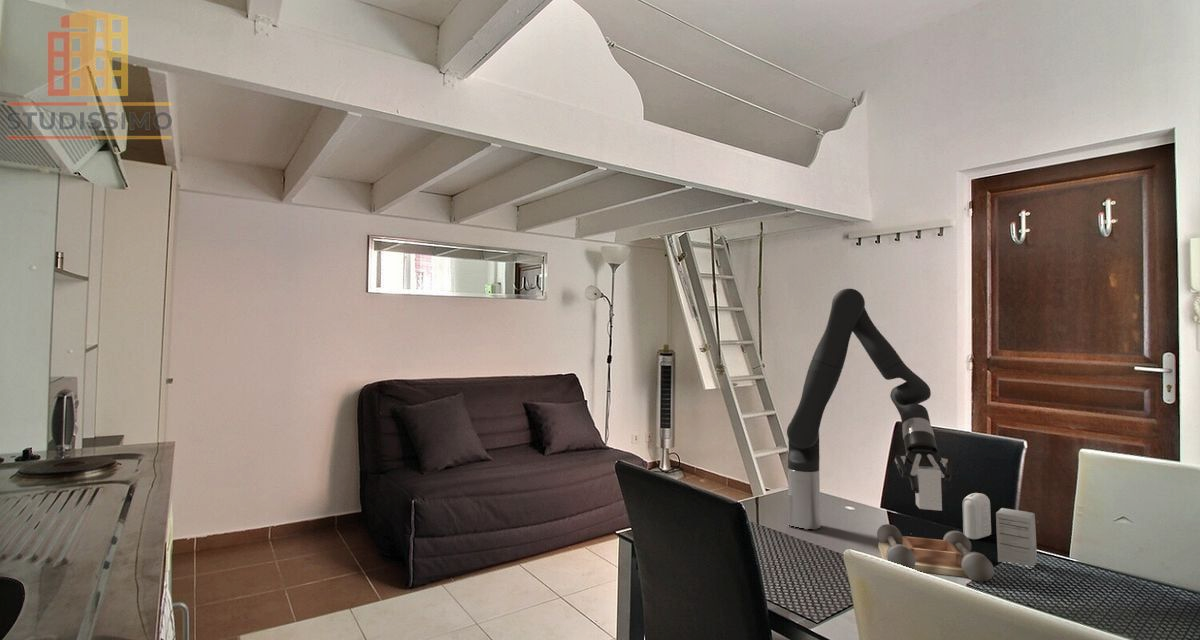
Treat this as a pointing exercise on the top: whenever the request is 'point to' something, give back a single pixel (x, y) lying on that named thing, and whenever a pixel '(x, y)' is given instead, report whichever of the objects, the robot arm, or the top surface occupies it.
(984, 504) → the arched gray pillar
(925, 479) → the beige rectangular block
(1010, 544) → the supplement box
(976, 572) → the chassis
